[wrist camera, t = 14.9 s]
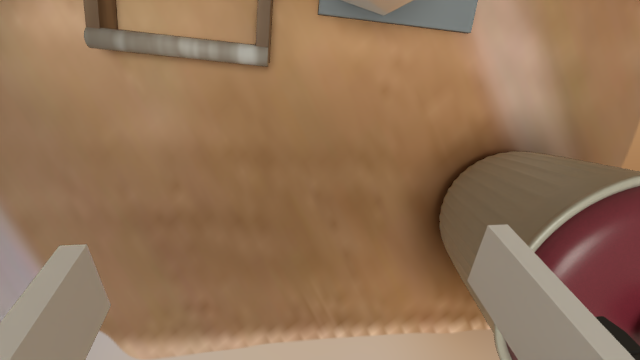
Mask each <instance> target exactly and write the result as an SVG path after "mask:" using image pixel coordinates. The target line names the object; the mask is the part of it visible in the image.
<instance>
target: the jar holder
mask: <svg viewBox="0 0 640 360" xmlns="http://www.w3.org/2000/svg"><path fill="white" fill-rule="evenodd" d="M272 8H273V0H258V8H257V32H256V45H251V44H242V43H233V42H224V41H215V40H207V39H198V38H189V37H180V36H171V35H162V34H153V33H144V32H135V31H126V30H118V25H117V11H116V0H84V11H85V21H86V28H85V31H84V38H85V42H86V44H87V46H88V47H90V48H96V49H105V50H115V51H124V52H134V53H143V54H153V55H162V56H172V57H181V58H190V59H200V60H209V61H219V62H228V63H238V64H247V65H256V66H266V67H268V63H270V45H271V26H272Z"/></svg>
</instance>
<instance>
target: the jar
mask: <svg viewBox="0 0 640 360" xmlns="http://www.w3.org/2000/svg"><path fill="white" fill-rule="evenodd" d="M341 1H344V2H347V3H350V4H352V5H355V6H358V7H361V8H364V9H366V10H369V11H372V12H375V13H377V14H380V15H383V16H385V15H387V14H389V13H391V12H392V11H394V10H396V9H398V8H400V7H402V6H404V5H406V4H408V3H410V2H412V1H413V0H341Z"/></svg>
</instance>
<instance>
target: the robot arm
mask: <svg viewBox="0 0 640 360" xmlns="http://www.w3.org/2000/svg"><path fill="white" fill-rule="evenodd" d="M467 281H468V283H469V284H470V286H471V287H472V289H473V290H474V292H475V294H476V295H477V297H478V298H479V300H480V301H481V303H482V304H483V306H484V308H485V309H486V311H487V312H488V314H489V315H490V317H491V318H492V320H493V322H494V323H495V325H496V326H497V328H498V329H499V331H500V332H501V334H502V336H503V337H504V339H505V340H506V342H507V343H508V345H509V347H510V348H511V350H512V351H513V353H514V354H515V356H516V357H517V359H518V360H640V346H639V345H638V344H637V343H636V342H635V341H634V340H633V339H632V338H631V337H630V336H629V335H628V334H627V333H626V332H625V331H624V330H622V329H621V328H619V327H618V326H617V325H615V324H614V323H612V322H611V321H609V320H608V319H607V318H605V317H604V316H598V317H595V316H594V315H593V314H592V313H591V312H590V311H589V310H588V309H587V308H586V307H585V306H584V305H583V304H582V303H581V302H580V300H579V299H578V298H577V297H576V296H575V295H574V294H573V293H572V292H571V291H570V290H569V289H568V288H567V287H566V286H565V285H564V284H563V282H562V281H561V280H560V279H559V278H558V277H557V276H556V275H555V274H554V273H553V272H552V271H551V270H550V269H549V268H548V267H547V266H546V264H545V263H544V262H543V261H542V260H541V259H540V258H539V257H538V256H537V255H536V254H535V253H534V252H533V251H532V250H531V249H530V248H529V246H528V245H527V244H526V243H525V242H524V241H523V240H522V239H521V238H520V237H519V236H518V235H517V234H516V233H515V232H514V231H513V230H512V228H511V227H510V226H509V225H508V224H505V225H488V226H487V229H486V231H485V234H484V237H483V239H482V242H481V245H480V247H479V250H478V253H477V256H476V258H475V261H474V264H473V266H472V269H471V272H470V274H469V277H468V280H467ZM110 306H111V304H110V302H109V299H108V297H107V294H106V292H105V289H104V287H103V284H102V282H101V279H100V276H99V274H98V271H97V269H96V266H95V264H94V261H93V259H92V256H91V254H90V251H89V249H88V246H87V244H84V245H63V246H59V247H58V248H57V249H56V251H55V252H54V253H53V255H52V256H51V257H50V259H49V260H48V261H47V262H46V264H45V265H44V266H43V268H42V269H41V270H40V272H39V273H38V274H37V276H36V277H35V278H34V279H33V281H32V282H31V283H30V285H29V286H28V287H27V289H26V290H25V291H24V293H23V294H22V295H21V296H20V298H19V299H18V300H17V302H16V303H15V304H14V306H13V307H12V308H11V310H10V311H9V312H8V313H7V315H6V316H5V317H4V319H3V320H2V321H1V323H0V360H85V359H86V357H87V355H88V353H89V351H90V349H91V346H92V344H93V342H94V340H95V338H96V336H97V334H98V332H99V330H100V327H101V325H102V323H103V321H104V319H105V317H106V315H107V313H108V311H109V308H110Z"/></svg>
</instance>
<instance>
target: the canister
mask: <svg viewBox="0 0 640 360" xmlns="http://www.w3.org/2000/svg"><path fill="white" fill-rule="evenodd" d="M439 219H440V224H439V227H440V231H441V238H442V241H443V243H444V246H445V249H446V251H447V253H448V255H449V257H450V258H451V260H452V262H453V264H454V266H455V268H456V270H457V271H458V273H459V275H460V277H461V279H462V280H463V282H464V284H465V285H466V287H467V289H468V291H469V292H470V294H471V296H472V297H473V299H474V301H475V302H476V304H477V306H478V307H479V309H480V311H481V313H482V314H483V316H484V318H485V320H486V321H487V323H488V325H489V326H490V328H491V329H492V331H493V333H494V340H495V345H496V349H497V353H498V356H499V358H500V360H518V359H517V357H516V356H515V354H514V353H513V351H512V350H511V348H510V347H509V345H508V343H507V342H506V340H505V339H504V337H503V336H502V334H501V332H500V331H499V329H498V328H497V326H496V325H495V323H494V322H493V320H492V318H491V317H490V315H489V314H488V312H487V311H486V309H485V308H484V306H483V304H482V303H481V301H480V300H479V298H478V297H477V295H476V294H475V292H474V290H473V289H472V287H471V286H470V284H469V283H468V281H467V280H468V277H469V274H470V272H471V269H472V266H473V264H474V261H475V258H476V256H477V253H478V250H479V247H480V245H481V242H482V239H483V237H484V234H485V231H486V229H487V226H488V225H505V224H508V225H509V226H510V227H511V228H512V230H513V231H514V232H515V233H516V234H517V235H518V236H519V237H520V238H521V239H522V240H523V241H524V242H525V243H526V244H527V245H528V246H529V248H530V249H531V250H532V251H533V252H534V253H535V254H536V255H537V256H538V257H539V258H540V259H541V260H542V261H543V262H544V263H545V264H546V266H547V267H548V268H549V269H550V270H551V271H552V272H553V273H554V274H555V275H556V276H557V277H558V278H559V279H560V280H561V281H562V282H563V284H564V285H565V286H566V287H567V288H568V289H569V290H570V291H571V292H572V293H573V294H574V295H575V296H576V297H577V298H578V299H579V300H580V302H581V303H582V304H583V305H584V306H585V307H586V308H587V309H588V310H589V311H590V312H591V313H592V314H593V315H594V316H595V317H598V316H604V317H605V318H607V319H608V320H609V321H611V322H612V323H614V324H615V325H617V326H618V327H619V328H621V329H622V330H624V331H625V332H626V333H627V334H628V335H629V336H630V337H631V338H632V339H633V340H634V341H635V342H636V343H637V344H638V345H639V346H640V172H639V171H633V170H628V169H623V168H618V167H613V166H607V165H602V164H597V163H592V162H586V161H581V160H576V159H571V158H565V157H560V156H553V155H547V154H540V153H534V152H516V151H511V152H507V153H498V154H495V155H494V156H488V157H486V158H485V159H483V160H479V161H477V162H476V163H475V164H473V165H472V166H469V167H468V168H467V169H466V170H465V171H464V172H462V173H460V175H459V177H458V178H457V179H456V180H454V181H453V184H452V186H451V187H450V188H449V189H448V192H447V194H446V196H445V197H444V201H443V204H442V205H441V213H440V215H439Z"/></svg>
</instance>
